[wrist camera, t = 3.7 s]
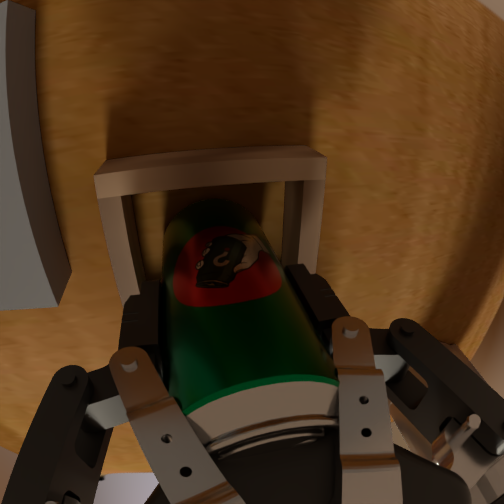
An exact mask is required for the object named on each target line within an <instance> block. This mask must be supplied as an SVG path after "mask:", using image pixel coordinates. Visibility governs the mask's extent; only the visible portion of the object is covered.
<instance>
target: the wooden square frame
mask: <svg viewBox="0 0 504 504" xmlns="http://www.w3.org/2000/svg"><path fill="white" fill-rule="evenodd" d="M326 166H327V157H325V156H324V155H322V154H320V153H319V152H317V151H315V150H313V149H312V148H310V147H308V146H306V145H287V146H251V147H231V148H215V149H201V150H189V151H178V152H168V153H158V154H149V155H141V156H133V157H126V158H118V159H112V160H106V161H105V162H104V163H103V165H102V166H101V167H100V168H99V169H98V171H97V172H96V173H95V174H94V181H95V187H96V193H97V199H98V204H99V210H100V215H101V220H102V225H103V230H104V234H105V239H106V243H107V248H108V252H109V256H110V260H111V264H112V268H113V272H114V276H115V280H116V284H117V288H118V291H119V295H120V298H121V302H122V305H123V309H124V304H125V302H126V301H127V299H128V298H129V297H130V295H138V294H140V291H141V283H142V281H146V277H145V272H144V268H143V262H142V257H141V252H140V247H139V241H138V235H137V230H136V224H135V217H134V211H133V204H132V198H131V194H139V193H147V192H156V191H165V190H174V189H184V188H195V187H206V186H218V185H231V184H244V183H260V182H277V181H285V201H284V222H283V241H282V259H281V265H282V267H283V269H284V268H285V266H286V265H293V264H301V263H303V264H304V265H305V266H306V268H307V269H308V271H309V273H310V274H315V272H316V264H317V256H318V248H319V239H320V230H321V221H322V211H323V200H324V190H325V178H326Z"/></svg>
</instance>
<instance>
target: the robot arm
mask: <svg viewBox="0 0 504 504" xmlns="http://www.w3.org/2000/svg"><path fill="white" fill-rule="evenodd" d="M284 271H285V273H286V274H287V276H288V278H289V280H290V282H291V283H292V285H293V287H294V289H295V291H296V293H297V295H298V296H299V298H300V300H301V302H302V304H303V306H304V307H305V309H306V311H307V313H308V315H309V317H310V319H311V320H312V322H313V324H314V326H315V328H316V330H317V332H318V333H319V335H320V337H321V339H322V341H323V343H324V345H325V347H326V348H327V350H328V352H329V354H330V356H331V358H332V360H333V362H334V363H335V365H336V367H337V368H336V371H337V375H338V379H339V381H340V384H339V387H338V403H337V418H338V420H339V425H338V429H337V430H336V429H331V428H330V429H328V436H329V437H328V438H326V439H323V438H317V440H316V441H314V442H312V443H308V444H304V445H300V446H296V447H290V448H286V449H282V450H278V451H274V452H269V453H264V454H260V455H254V456H249V457H243V458H237V459H231V460H224V461H220V460H218V459H217V456H216V455H215V454H214V455H212V456H209V454H208V453H207V451H206V450H205V448H204V447H203V445H202V443H201V442H200V440H199V439H198V437H197V436H196V434H195V432H194V431H193V429H192V428H191V426H190V424H189V423H188V421H187V419H186V418H185V416H184V415H183V413H182V411H181V409H180V408H179V406H178V404H177V403H176V401H175V399H174V398H173V397H172V396H169V394H168V392H167V390H166V388H165V386H164V384H163V380H162V345H161V290H162V287H161V282H160V280H151V281H142V283H141V291H140V294H138V295H130V297H129V298H128V299H127V301H126V302H125V304H124V309H123V316H122V323H121V331H120V339H119V347H118V351H117V352H115V353H114V354H113V355H112V357H111V358H110V361H109V364H108V365H107V366H105V367H103V368H100V369H97V370H94V371H91V372H88V373H87V372H86V371H85V369H83V368H82V367H80V366H77V365H69V366H65V367H63V368H61V369H60V370H58V371H57V372H56V373H55V374H54V376H53V378H52V380H51V382H50V384H49V386H48V388H47V390H46V392H45V394H44V396H43V399H42V401H41V403H40V405H39V407H38V409H37V412H36V414H35V416H34V418H33V421H32V423H31V425H30V428H29V430H28V432H27V435H26V437H25V440H24V442H23V445H22V447H21V450H20V452H19V455H18V457H17V460H16V463H15V465H14V468H13V471H12V474H11V476H10V479H9V482H8V485H7V488H6V491H5V494H4V497H3V500H2V503H1V504H93V502H94V498H95V493H96V490H97V486H98V482H99V478H100V474H101V470H102V467H103V463H104V459H105V456H106V452H107V448H108V445H109V441H110V438H111V435H112V431H113V428H114V426H117V425H120V424H123V423H126V422H128V421H129V422H130V425H131V427H132V429H133V431H134V434H135V436H136V438H137V440H138V442H139V444H140V446H141V449H142V451H143V453H144V455H145V457H146V459H147V461H148V463H149V465H150V467H151V469H152V471H153V473H154V475H155V476H156V478H157V480H158V482H159V484H158V485H157V487H156V488H155V489H154V491H153V492H152V494H151V495H150V496H149V498H148V499H147V501H146V502H145V503H144V504H504V399H503V398H502V397H501V396H500V395H499V394H498V393H497V392H496V391H494V390H493V389H492V388H491V387H490V386H489V385H488V384H487V382H486V381H485V380H484V378H483V377H482V376H481V375H480V373H479V372H478V371H477V369H476V368H475V367H474V366H473V364H472V363H471V362H470V361H469V360H468V358H467V357H466V356H465V355H464V353H463V352H462V351H461V350H460V349H459V347H458V346H457V345H456V344H453V345H448V344H447V343H443V342H439V341H438V340H437V339H436V338H434V337H433V336H432V335H431V334H430V333H429V332H427V331H426V330H425V329H424V328H423V327H421V326H420V325H419V324H418V323H416V322H415V321H413V320H410V319H406V318H400V319H396V320H394V321H393V322H392V323H391V324H390V327H389V329H372V328H369V327H368V326H367V324H366V323H365V322H364V321H362V320H361V319H358V318H356V317H351V316H350V315H349V313H348V312H347V310H346V309H345V307H344V306H343V305H342V303H341V302H340V300H339V299H338V297H337V296H335V293H334V291H333V290H332V289H331V287H330V285H329V284H328V283H327V281H326V280H325V279H324V278H322V277H321V276H319V275H318V274H310V273H309V271H308V269H307V268H306V266H305V265H304V264H303V263H301V264H293V265H286V266H285V268H284ZM390 415H391V416H392V418H393V420H394V422H395V423H396V425H397V427H398V429H399V431H400V433H401V434H402V436H403V438H404V440H405V442H406V443H407V445H408V447H409V449H410V451H411V452H410V451H408V450H406V449H404V448H402V447H400V446H398V445H396V444H394V443H393V437H392V429H391V420H390Z"/></svg>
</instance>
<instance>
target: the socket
mask: <svg viewBox="0 0 504 504" xmlns="http://www.w3.org/2000/svg"><path fill="white" fill-rule="evenodd" d="M35 15H36V11H35V10H33V9H30V8H28V7H25V6H23V5H20V4H18V3H15V2H12V1H10V0H6V1H4V2H2V3H0V310H17V309H32V308H47V307H58V305H59V303H60V300H61V298H62V295H63V293H64V290H65V288H66V285H67V283H68V280H69V278H70V275H71V273H72V272H71V268H70V265H69V262H68V259H67V255H66V252H65V248H64V245H63V241H62V238H61V234H60V230H59V226H58V222H57V218H56V214H55V210H54V205H53V201H52V196H51V192H50V187H49V182H48V177H47V171H46V166H45V160H44V154H43V147H42V140H41V133H40V125H39V116H38V105H37V93H36V76H35Z"/></svg>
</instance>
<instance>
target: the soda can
mask: <svg viewBox="0 0 504 504" xmlns="http://www.w3.org/2000/svg"><path fill="white" fill-rule="evenodd" d="M161 345H162V380H163V384H164V386H165V388H166V390H167V392H168V394H169V396H172V397H173V398H174V399H175V401H176V403H177V404H178V406H179V408H180V409H181V411H182V413H183V415H184V416H185V418H186V419H187V421H188V423H189V424H190V426H191V428H192V429H193V431H194V432H195V434H196V436H197V437H198V439H199V440H200V442H201V443H202V445H203V447H204V448H205V450H206V451H207V453H208V454H209V456H212V455H214V454H215V455H216V456H217V459H218V460H220V461H224V460H231V459H237V458H243V457H249V456H254V455H260V454H264V453H269V452H274V451H278V450H282V449H286V448H290V447H296V446H300V445H304V444H308V443H312V442H314V441H316V440H317V438H323V439H326V438H328V437H329V436H328V429H330V428H331V429H336V430H337V429H338V425H339V420H338V418H337V403H338V387H339V384H340V381H339V379H338V375H337V371H336V368H337V367H336V365H335V363H334V362H333V360H332V358H331V356H330V354H329V352H328V350H327V348H326V347H325V345H324V343H323V341H322V339H321V337H320V335H319V333H318V332H317V330H316V328H315V326H314V324H313V322H312V320H311V319H310V317H309V315H308V313H307V311H306V309H305V307H304V306H303V304H302V302H301V300H300V298H299V296H298V295H297V293H296V291H295V289H294V287H293V285H292V283H291V282H290V280H289V278H288V276H287V274H286V273H285V271H284V269H283V267H282V265H281V263H280V262H279V260H278V258H277V256H276V254H275V253H274V251H273V249H272V247H271V245H270V243H269V242H268V240H267V238H266V236H265V234H264V233H263V231H262V229H261V227H260V225H259V224H258V222H257V220H256V218H255V217H254V216H253V215H252V214H251V213H250V212H249V211H248V210H247V209H246V208H244V207H243V206H241V205H239V204H237V203H235V202H232V201H228V200H224V199H207V200H202V201H198V202H196V203H193V204H191V205H189V206H187V207H186V208H184V209H183V210H181V211H180V212H179V213H178V214H177V215H176V216H175V217H174V218H173V219H172V220H171V222H170V224H169V225H168V227H167V229H166V232H165V234H164V239H163V254H162V290H161Z"/></svg>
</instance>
